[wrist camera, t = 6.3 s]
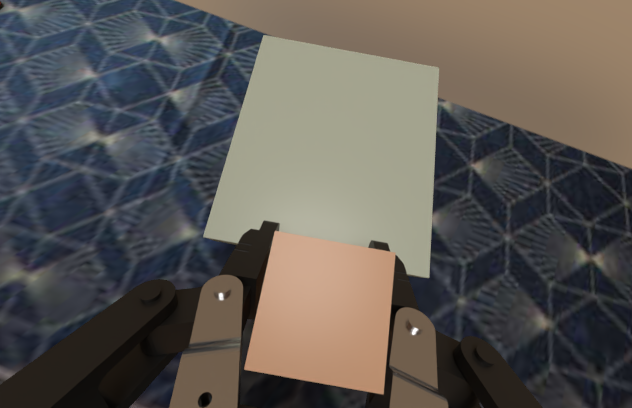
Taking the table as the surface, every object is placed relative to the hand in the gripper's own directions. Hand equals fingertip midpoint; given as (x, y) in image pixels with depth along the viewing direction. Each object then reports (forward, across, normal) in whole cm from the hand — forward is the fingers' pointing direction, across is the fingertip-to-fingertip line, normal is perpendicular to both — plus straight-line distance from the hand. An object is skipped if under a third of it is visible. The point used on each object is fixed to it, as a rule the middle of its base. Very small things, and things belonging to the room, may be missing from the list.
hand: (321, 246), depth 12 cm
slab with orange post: (+8, 0, -1) cm, 8 cm away
